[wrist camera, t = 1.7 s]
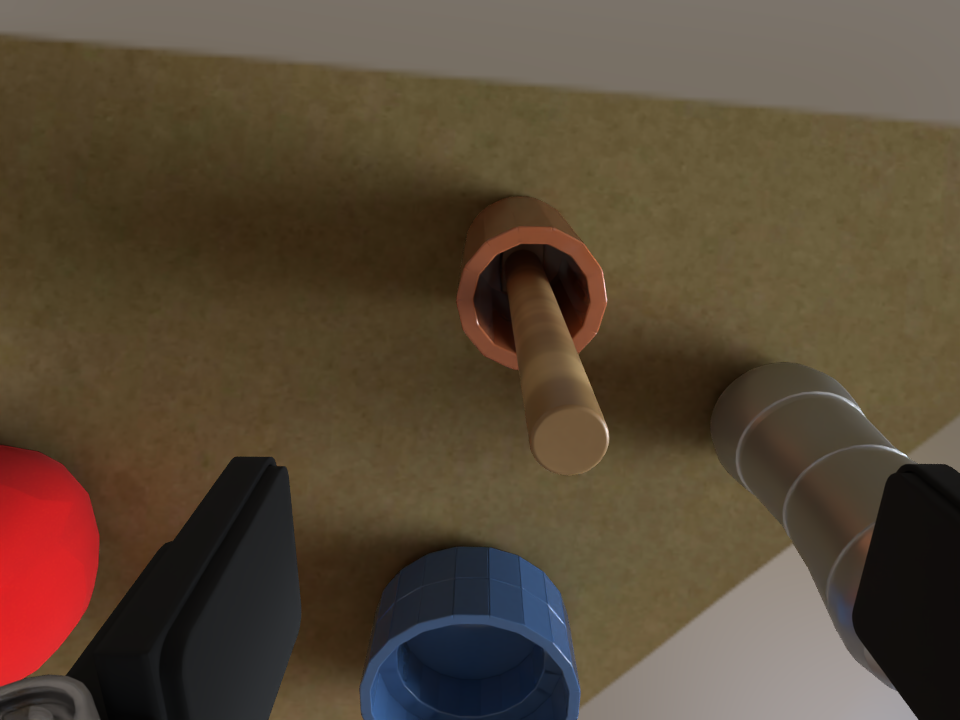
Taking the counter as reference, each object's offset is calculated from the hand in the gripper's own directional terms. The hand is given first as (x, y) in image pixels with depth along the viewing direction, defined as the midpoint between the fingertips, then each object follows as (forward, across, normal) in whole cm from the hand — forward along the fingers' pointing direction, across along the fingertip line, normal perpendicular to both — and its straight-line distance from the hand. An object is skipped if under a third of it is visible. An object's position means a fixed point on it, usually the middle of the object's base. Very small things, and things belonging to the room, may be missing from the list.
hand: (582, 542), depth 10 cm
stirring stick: (+22, 0, 0) cm, 22 cm away
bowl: (+23, +2, +22) cm, 32 cm away
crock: (+23, 0, 0) cm, 23 cm away
